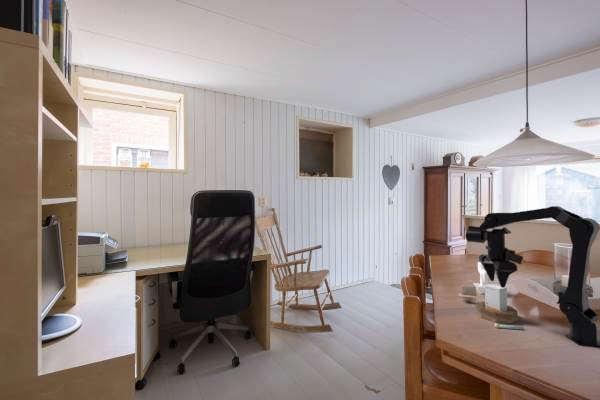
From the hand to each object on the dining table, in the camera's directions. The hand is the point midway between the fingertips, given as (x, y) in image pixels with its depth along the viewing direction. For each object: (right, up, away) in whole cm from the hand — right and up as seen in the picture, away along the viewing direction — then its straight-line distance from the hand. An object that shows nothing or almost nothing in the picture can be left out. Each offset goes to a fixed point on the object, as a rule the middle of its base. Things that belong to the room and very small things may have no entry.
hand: (497, 284), depth 110 cm
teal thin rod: (-3, -13, -11) cm, 17 cm away
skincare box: (0, -13, 0) cm, 13 cm away
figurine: (+14, -13, +29) cm, 34 cm away
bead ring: (0, -13, 0) cm, 13 cm away
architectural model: (-1, -14, +17) cm, 22 cm away
